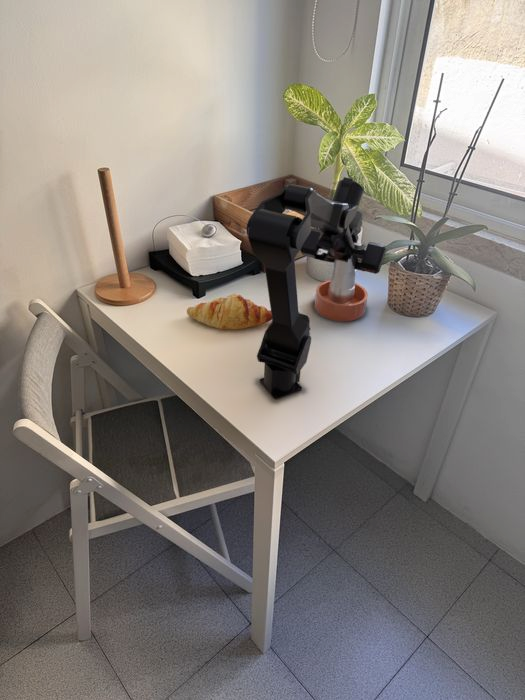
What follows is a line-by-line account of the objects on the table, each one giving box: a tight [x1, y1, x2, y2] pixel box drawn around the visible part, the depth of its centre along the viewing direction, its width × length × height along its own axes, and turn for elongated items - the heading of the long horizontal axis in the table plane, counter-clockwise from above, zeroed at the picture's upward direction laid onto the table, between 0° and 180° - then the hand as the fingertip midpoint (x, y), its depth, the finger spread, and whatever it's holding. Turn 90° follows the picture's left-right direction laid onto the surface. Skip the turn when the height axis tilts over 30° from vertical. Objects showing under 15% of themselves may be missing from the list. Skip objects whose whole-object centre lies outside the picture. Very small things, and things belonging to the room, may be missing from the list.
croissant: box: [186, 293, 272, 330], centre depth 120 cm, size 21×10×8 cm, turn 87°
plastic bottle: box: [328, 231, 363, 304], centre depth 121 cm, size 6×7×20 cm
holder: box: [314, 279, 369, 322], centre depth 127 cm, size 13×13×4 cm
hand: (347, 263), depth 122 cm, fingers closed on plastic bottle, 6 cm apart
